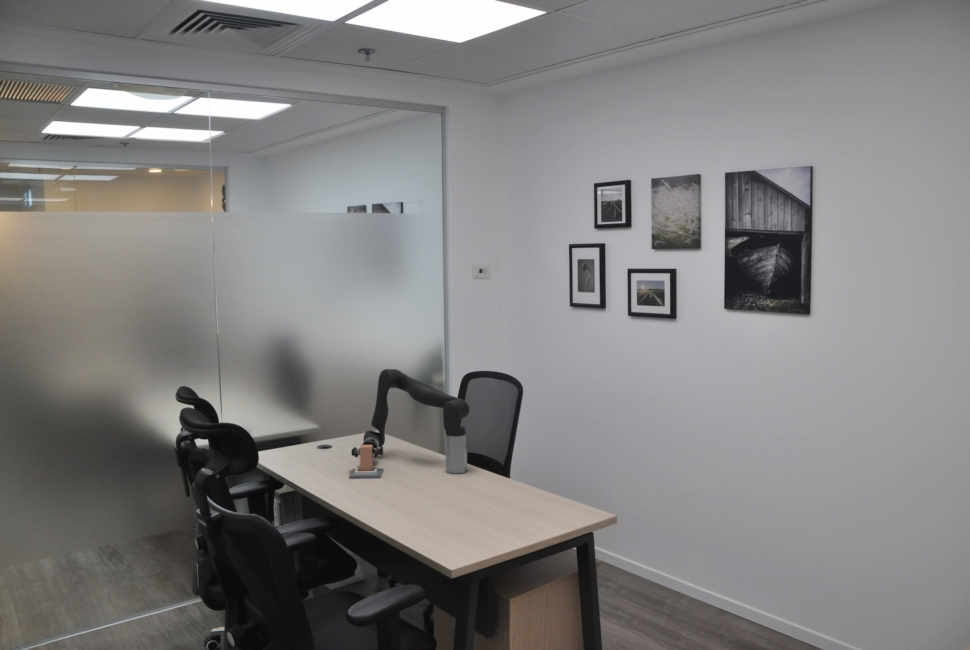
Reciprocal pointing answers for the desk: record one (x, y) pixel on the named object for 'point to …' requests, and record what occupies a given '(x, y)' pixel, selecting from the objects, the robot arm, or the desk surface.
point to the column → (366, 458)
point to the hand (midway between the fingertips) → (365, 455)
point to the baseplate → (366, 473)
